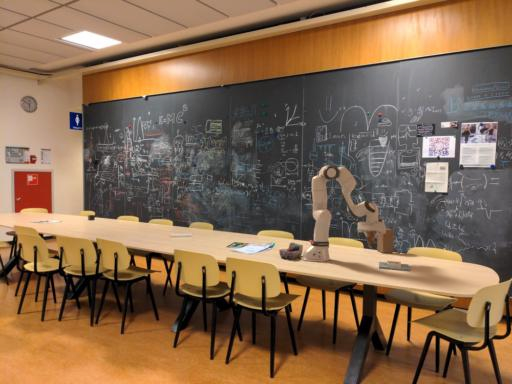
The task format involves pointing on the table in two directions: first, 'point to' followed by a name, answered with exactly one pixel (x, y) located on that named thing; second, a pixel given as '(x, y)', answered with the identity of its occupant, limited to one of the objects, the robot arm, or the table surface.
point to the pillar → (371, 237)
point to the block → (386, 241)
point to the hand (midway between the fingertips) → (371, 236)
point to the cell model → (291, 251)
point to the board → (394, 265)
